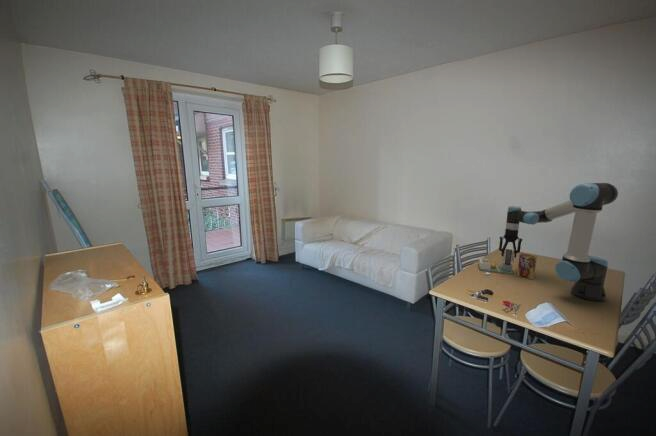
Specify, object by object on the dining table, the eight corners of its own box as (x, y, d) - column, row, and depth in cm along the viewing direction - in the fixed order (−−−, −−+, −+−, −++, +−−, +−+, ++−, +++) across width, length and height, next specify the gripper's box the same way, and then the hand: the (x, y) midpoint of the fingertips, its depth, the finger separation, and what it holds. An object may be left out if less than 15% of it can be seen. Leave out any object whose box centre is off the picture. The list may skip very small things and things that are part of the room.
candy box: (534, 278, 192) (537, 255, 190) (532, 279, 190) (535, 257, 187) (518, 274, 199) (521, 252, 196) (516, 275, 197) (519, 253, 194)
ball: (496, 269, 205) (497, 264, 205) (490, 268, 207) (491, 263, 206) (495, 267, 209) (496, 262, 208) (489, 266, 210) (490, 262, 209)
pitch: (512, 274, 198) (513, 267, 197) (480, 270, 205) (480, 263, 204) (508, 268, 210) (509, 261, 209) (477, 264, 217) (478, 257, 216)
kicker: (511, 271, 201) (514, 251, 198) (503, 270, 203) (506, 250, 200) (510, 268, 206) (512, 249, 204) (502, 267, 208) (504, 248, 205)
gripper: (525, 228, 199) (521, 261, 204) (496, 226, 206) (492, 258, 210) (528, 231, 192) (524, 264, 197) (498, 228, 199) (494, 261, 203)
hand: (507, 261), depth 203 cm, fingers open, 5 cm apart
